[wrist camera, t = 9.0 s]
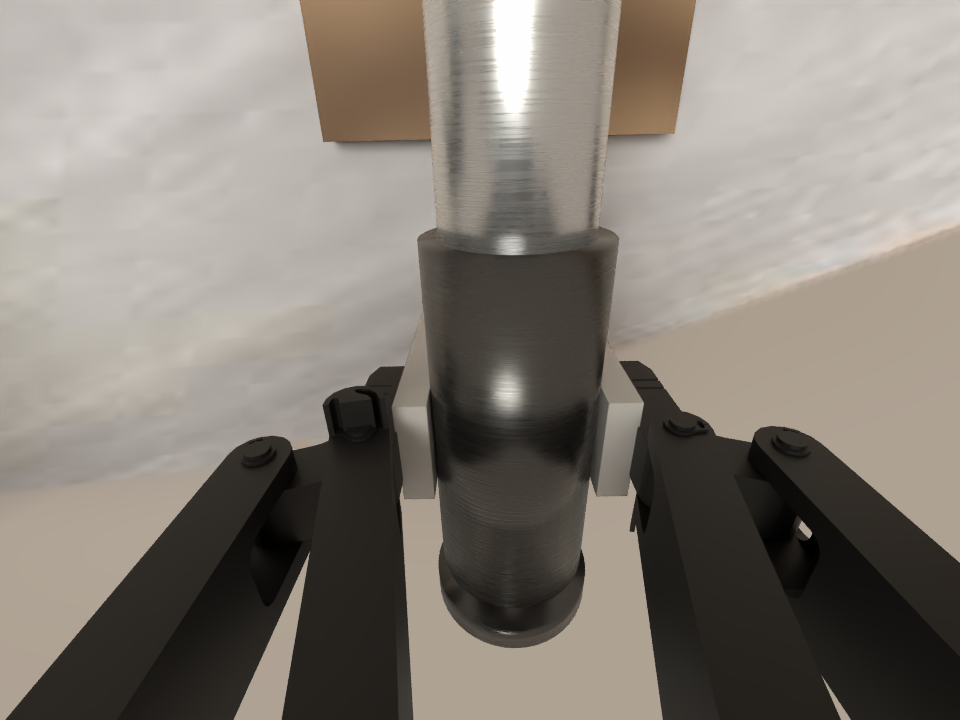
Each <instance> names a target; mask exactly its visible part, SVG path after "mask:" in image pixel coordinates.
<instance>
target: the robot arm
mask: <svg viewBox="0 0 960 720" xmlns="http://www.w3.org/2000/svg"><path fill="white" fill-rule="evenodd" d="M323 410H324V414H325V419H326V423H327V428H328V432H329V441H327V442H325V443H322V444H319V445H315V446H312V447H307V448H303V449H298V450H292V446H291V444H290V441H288V440H287V439H285V438H283V437H278V436H267V437H260V438H256V439H253V440H250V441H248V442H246V443H244V444H242V445H240V446H238V447H237V448H235V449H234V450H233V451H232V452H231V453H230V454H229V455H228V456H227V457H226V458H225V459H224V461H223V462H222V463H221V464H220V465H219V466H218V468H217V469H216V470H215V471H214V472H213V474H212V475H211V476H210V477H209V478H208V480H207V481H206V482H205V483H204V484H203V485H202V487H201V488H200V489H199V490H198V491H197V493H196V494H195V495H194V496H193V497H192V499H191V500H190V501H189V502H188V503H187V505H186V506H185V507H184V508H183V509H182V510H181V512H180V513H179V514H178V515H177V517H176V518H175V519H174V520H173V521H172V522H171V524H170V525H169V526H168V527H167V528H166V529H165V531H164V532H163V533H162V534H161V536H160V537H159V538H158V539H157V540H156V541H155V543H154V544H153V545H152V546H151V547H150V549H149V550H148V551H147V552H146V553H145V554H144V556H143V557H142V558H141V559H140V561H139V562H138V563H137V564H136V565H135V566H134V567H133V569H132V570H131V571H130V572H129V573H128V575H127V576H126V577H125V578H124V580H123V581H122V582H121V583H120V584H119V585H118V587H117V588H116V589H115V590H114V591H113V593H112V594H111V595H110V596H109V597H108V598H107V600H106V601H105V602H104V603H103V604H102V606H101V607H100V608H99V609H98V610H97V612H96V613H95V614H94V615H93V616H92V617H91V619H90V620H89V621H88V622H87V624H86V625H85V626H84V627H83V628H82V629H81V630H80V632H79V633H78V634H77V635H76V636H75V638H74V639H73V640H72V641H71V642H70V644H69V645H68V646H67V647H66V648H65V650H64V651H63V652H62V653H61V654H60V655H59V657H58V658H57V659H56V660H55V662H54V663H53V664H52V665H51V666H50V667H49V669H48V670H47V671H46V672H45V673H44V674H43V676H42V677H41V678H40V679H39V680H38V682H37V683H36V684H35V685H34V686H33V688H32V689H31V690H30V691H29V692H28V693H27V695H26V696H25V697H24V698H23V700H22V701H21V702H20V703H19V704H18V705H17V707H16V708H15V709H14V710H13V711H12V713H11V714H10V715H9V716H8V717H7V719H6V720H233V719H234V717H235V715H236V713H237V711H238V709H239V706H240V704H241V702H242V700H243V697H244V695H245V693H246V691H247V688H248V686H249V684H250V682H251V680H252V678H253V675H254V673H255V671H256V669H257V666H258V664H259V662H260V660H261V658H262V655H263V653H264V651H265V649H266V647H267V644H268V642H269V640H270V638H271V636H272V633H273V631H274V629H275V627H276V625H277V622H278V620H279V618H280V616H281V613H282V611H283V609H284V607H285V605H286V602H287V600H288V598H289V596H290V593H291V591H292V589H293V587H294V585H295V583H296V580H297V578H298V576H299V574H300V572H301V569H302V567H303V565H304V562H305V560H306V558H307V556H308V554H309V552H310V555H309V561H308V567H307V573H306V578H305V584H304V591H303V597H302V602H301V608H300V614H299V620H298V626H297V632H296V638H295V644H294V649H293V655H292V661H291V667H290V673H289V679H288V685H287V691H286V697H285V703H284V710H283V715H282V720H413V708H412V707H413V706H412V688H411V672H410V653H409V637H408V618H407V601H406V583H405V565H404V548H403V531H402V512H401V506H400V498H399V497H400V492H401V488H402V486H403V494H404V499H434V498H435V491H436V484H437V476H438V474H437V463H436V451H435V439H434V428H433V416H432V405H431V393H430V381H429V370H428V358H427V347H426V335H425V323H424V312H422V315H421V318H420V321H419V324H418V328H417V331H416V334H415V337H414V340H413V343H412V346H411V349H410V352H409V355H408V358H407V361H406V364H405V366H398V367H380V368H379V369H377V370H376V371H375V372H374V373H372V374H371V375H370V377H369V379H368V381H367V383H366V386H354V387H350V388H345V389H342V390H340V391H338V392H335V393H333V394H332V395H331V396H329V397H328V398H327V399H326V400H325V402H324V404H323ZM590 477H591V481H592V484H593V487H594V490H595V493H596V496H627V494H628V489H629V483H630V478H631V480H632V483H633V485H634V487H635V489H636V492H637V493H636V498H635V504H634V509H633V514H632V519H631V525H630V531H631V532H634V530H635V526H636V528H637V535H638V542H639V549H640V557H641V564H642V571H643V578H644V586H645V593H646V600H647V608H648V614H649V622H650V629H651V636H652V644H653V651H654V658H655V666H656V672H657V680H658V687H659V695H660V702H661V709H662V717H663V720H841V719H840V717H839V714H838V712H837V710H836V708H835V705H834V703H833V701H832V698H831V696H830V694H829V692H828V689H827V687H826V685H825V683H824V680H825V681H826V683H827V684H828V686H829V687H830V689H831V690H832V692H833V693H834V695H835V696H836V697H837V699H838V701H839V702H840V703H841V705H842V707H843V708H844V710H845V711H846V713H847V714H848V716H849V717H850V719H851V720H960V563H959V562H958V561H957V560H956V559H955V558H953V557H952V556H951V555H950V554H949V553H948V552H946V551H945V550H944V549H943V548H942V547H941V546H939V545H938V544H937V543H936V542H935V541H934V540H933V539H931V538H930V537H929V536H928V535H927V534H926V533H925V532H923V531H922V530H921V529H920V528H919V527H918V526H916V525H915V524H914V523H913V522H912V521H911V520H909V519H908V518H907V517H906V516H905V515H903V513H901V512H900V511H899V510H898V509H897V508H895V507H894V506H893V505H892V504H891V503H890V502H889V501H887V500H886V499H885V498H884V497H883V496H882V495H880V494H879V493H878V492H877V491H876V490H875V489H873V488H872V487H871V486H870V485H869V484H868V483H867V482H865V481H864V480H863V479H862V478H861V477H860V476H858V475H857V474H856V473H855V472H854V471H853V470H851V469H850V468H849V467H848V466H847V465H846V464H844V463H843V462H842V461H841V460H840V459H839V458H837V457H836V456H835V455H834V454H833V453H832V452H830V451H829V450H828V449H827V448H826V447H825V446H824V445H822V444H821V443H820V442H818V441H817V440H815V439H814V438H812V437H811V436H809V435H806V434H804V433H801V432H800V431H798V430H795V429H790V428H786V427H776V426H769V427H764V428H760V429H759V430H757V431H756V432H755V434H754V437H753V440H752V442H746V441H740V440H735V439H729V438H724V437H720V436H716V435H715V433H714V430H713V429H712V427H711V426H710V425H709V424H708V423H707V422H706V421H704V420H703V419H701V418H700V417H698V416H695V415H693V414H690V413H687V412H682V411H681V410H680V409H679V407H678V406H677V405H676V403H675V402H674V401H673V399H672V398H671V396H670V395H669V393H668V392H667V391H666V390H665V389H664V387H663V385H662V384H661V382H660V381H658V378H657V377H656V376H655V374H654V373H653V371H652V370H651V369H650V368H648V367H647V366H645V365H643V364H642V363H640V362H639V361H618V359H617V358H616V356H615V354H614V353H613V351H612V349H611V348H610V346H609V344H608V343H607V341H606V349H605V357H604V365H603V373H602V381H601V390H600V398H599V406H598V414H597V422H596V430H595V438H594V446H593V454H592V462H591V470H590ZM801 521H803V522H804V523H805V524H806V526H807V527H808V528H809V529H810V530H811V532H812V536H811V537H810V538H808V537H806V535H804V534H803V532H802V531H801V530H800V529H799V525H800V523H801ZM821 675H822V676H821ZM822 677H823V678H824V680H823V678H822Z"/></svg>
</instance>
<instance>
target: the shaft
mask: <svg viewBox="0 0 960 720" xmlns="http://www.w3.org/2000/svg"><path fill="white" fill-rule="evenodd" d="M621 3H622V0H422V8H423V23H424V38H425V54H426V69H427V84H428V100H429V115H430V131H431V146H432V161H433V177H434V192H435V208H436V223H437V228H435V229H432V230H429V231H427V232H425V233H423V234H422V235H420V236H419V237H418V240H417V242H418V254H419V265H420V277H421V288H422V300H423V312H424V323H425V335H426V347H427V358H428V370H429V381H430V393H431V405H432V416H433V428H434V439H435V451H436V463H437V474H438V486H439V496H440V497H439V498H440V508H441V521H442V532H443V543H442V546H441V549H440V554H439V574H440V585H441V592H442V596H443V599H444V602H445V604H446V607H447V609H448V611H449V612H450V614H451V615H452V617H453V618H454V620H455V621H456V622H457V623H458V624H459V625H460V626H461V627H462V628H463V629H464V630H465V631H467V632H468V633H469V634H471V635H472V636H474V637H475V638H478V639H480V640H481V641H483V642H486V643H489V644H492V645H495V646H500V647H506V648H522V647H530V646H534V645H537V644H540V643H543V642H546V641H548V640H550V639H551V638H553V637H555V636H556V635H558V634H559V633H560V632H561V631H563V630H564V629H565V628H566V627H567V626H568V625H569V623H570V622H571V620H572V619H573V618H574V616H575V614H576V612H577V610H578V608H579V605H580V602H581V598H582V591H583V584H584V576H585V563H584V556H583V553H582V550H581V543H582V535H583V526H584V519H585V511H586V502H587V494H588V487H589V478H590V470H591V462H592V454H593V446H594V438H595V430H596V422H597V414H598V406H599V398H600V390H601V381H602V373H603V365H604V357H605V349H606V341H607V333H608V325H609V317H610V309H611V301H612V293H613V284H614V276H615V268H616V260H617V252H618V244H619V237H618V236H617V235H616V234H615V233H614V232H612V231H610V230H607V229H605V228H602V227H599V220H600V210H601V200H602V190H603V181H604V171H605V161H606V151H607V141H608V131H609V121H610V112H611V102H612V92H613V82H614V72H615V62H616V52H617V42H618V33H619V23H620V13H621Z"/></svg>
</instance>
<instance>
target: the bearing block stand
mask: <svg viewBox="0 0 960 720" xmlns="http://www.w3.org/2000/svg"><path fill="white" fill-rule="evenodd" d="M695 3H696V0H622V3H621V13H620V23H619V33H618V42H617V52H616V62H615V72H614V82H613V92H612V102H611V112H610V121H609V131H608V135H632V134H674V132H675V126H676V120H677V113H678V107H679V101H680V95H681V89H682V83H683V77H684V70H685V64H686V58H687V52H688V46H689V40H690V34H691V28H692V21H693V15H694V9H695ZM300 5H301V11H302V17H303V23H304V29H305V35H306V41H307V47H308V53H309V59H310V65H311V71H312V77H313V83H314V89H315V95H316V101H317V107H318V113H319V119H320V125H321V131H322V136H323V142H338V141H380V140H422V139H431V131H430V115H429V100H428V84H427V69H426V54H425V38H424V23H423V8H422V0H300Z"/></svg>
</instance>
